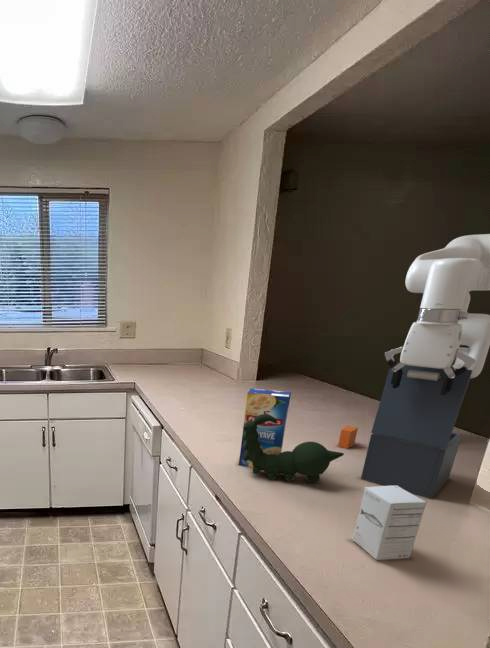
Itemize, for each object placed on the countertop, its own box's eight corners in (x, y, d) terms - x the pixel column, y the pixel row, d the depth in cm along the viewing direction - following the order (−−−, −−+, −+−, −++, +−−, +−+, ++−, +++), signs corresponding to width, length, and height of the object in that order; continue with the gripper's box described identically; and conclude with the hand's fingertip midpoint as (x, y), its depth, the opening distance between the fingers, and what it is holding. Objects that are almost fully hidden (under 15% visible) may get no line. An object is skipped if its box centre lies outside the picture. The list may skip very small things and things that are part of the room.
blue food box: (277, 471, 125) (289, 397, 118) (238, 464, 130) (247, 392, 122) (279, 463, 131) (291, 391, 123) (242, 457, 136) (250, 388, 128)
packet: (344, 442, 148) (348, 425, 146) (354, 444, 146) (358, 427, 144) (337, 446, 144) (341, 429, 142) (347, 448, 142) (351, 431, 140)
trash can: (382, 462, 131) (392, 421, 127) (448, 478, 120) (462, 434, 115) (360, 478, 120) (371, 434, 116) (431, 498, 109) (445, 450, 104)
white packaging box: (350, 540, 91) (363, 485, 87) (383, 538, 92) (398, 484, 87) (375, 561, 84) (390, 503, 80) (411, 559, 85) (428, 501, 80)
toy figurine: (241, 483, 121) (343, 490, 112) (242, 418, 115) (351, 419, 106) (242, 471, 129) (338, 476, 120) (244, 409, 123) (344, 410, 114)
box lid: (392, 362, 111) (386, 360, 108) (472, 370, 100) (469, 368, 96) (371, 432, 116) (365, 433, 112) (446, 448, 104) (442, 449, 101)
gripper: (491, 318, 95) (468, 394, 101) (398, 314, 107) (383, 383, 113) (484, 319, 90) (460, 399, 96) (389, 316, 102) (373, 387, 108)
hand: (418, 390), depth 104 cm, fingers open, 9 cm apart
